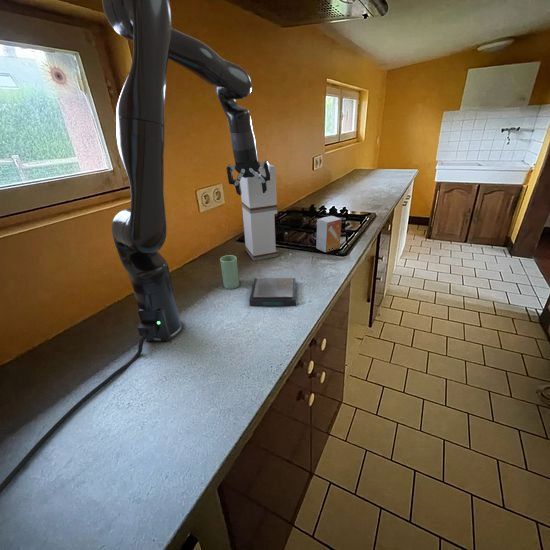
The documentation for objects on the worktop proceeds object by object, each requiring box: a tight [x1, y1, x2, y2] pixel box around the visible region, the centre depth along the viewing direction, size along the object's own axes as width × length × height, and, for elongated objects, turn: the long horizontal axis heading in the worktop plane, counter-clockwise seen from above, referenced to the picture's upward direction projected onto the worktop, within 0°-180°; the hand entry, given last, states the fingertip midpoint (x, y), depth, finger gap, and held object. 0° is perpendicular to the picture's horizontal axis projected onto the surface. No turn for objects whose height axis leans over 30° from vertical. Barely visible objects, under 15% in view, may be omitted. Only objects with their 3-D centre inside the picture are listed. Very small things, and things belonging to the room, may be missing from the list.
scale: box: [248, 277, 297, 307], centre depth 96 cm, size 14×14×3 cm
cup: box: [219, 254, 240, 290], centre depth 101 cm, size 5×5×10 cm
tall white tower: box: [239, 163, 280, 262], centre depth 119 cm, size 11×11×35 cm
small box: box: [315, 215, 343, 253], centre depth 126 cm, size 8×6×13 cm
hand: (252, 193), depth 106 cm, fingers open, 8 cm apart
